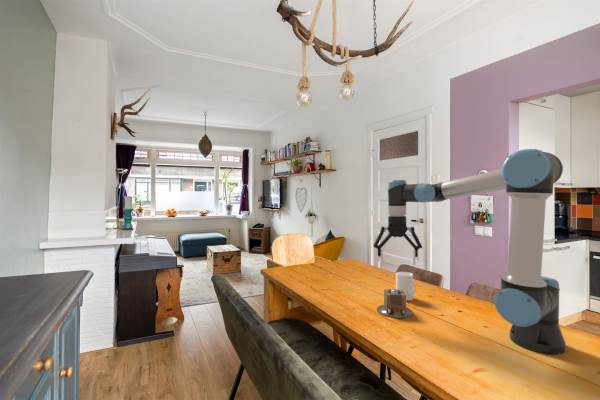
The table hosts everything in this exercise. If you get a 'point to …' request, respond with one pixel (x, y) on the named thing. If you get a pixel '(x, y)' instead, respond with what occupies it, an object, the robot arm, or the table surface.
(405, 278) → the mug
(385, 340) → the table surface
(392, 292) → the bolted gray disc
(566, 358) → the table surface
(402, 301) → the collar
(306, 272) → the table surface
